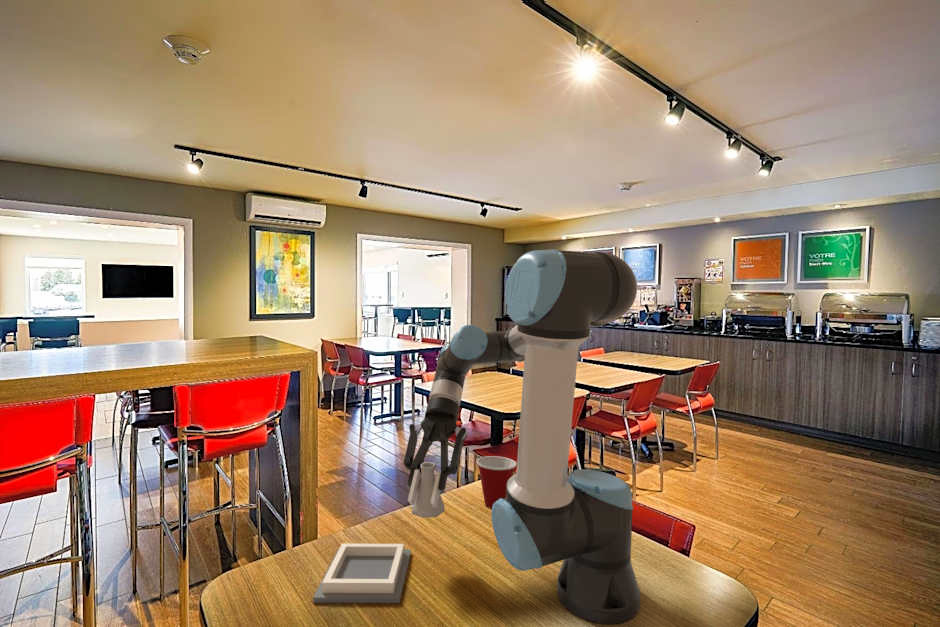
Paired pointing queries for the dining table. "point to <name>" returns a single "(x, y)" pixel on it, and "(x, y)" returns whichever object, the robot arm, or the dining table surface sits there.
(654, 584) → the dining table surface
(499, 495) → the plastic cup
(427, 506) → the flask
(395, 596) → the holder
